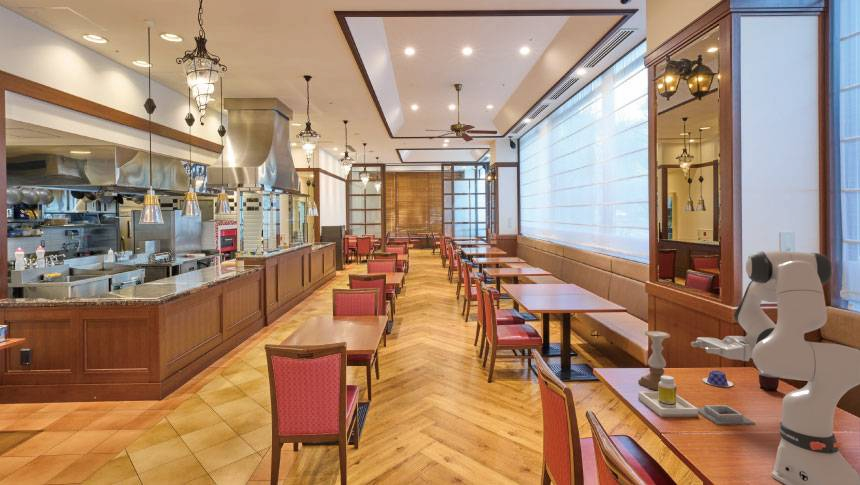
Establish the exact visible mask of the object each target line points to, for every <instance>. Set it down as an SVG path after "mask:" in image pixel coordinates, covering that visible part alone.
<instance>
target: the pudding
mask: <svg viewBox="0 0 860 485" xmlns="http://www.w3.org/2000/svg"><path fill="white" fill-rule="evenodd" d="M701 381H703V383H705V384H708V385H712V386H716V387H725V388H729V387H732V386H734V383H733V382H732V381H730V380H727V375H726V373H725V372H723V371H721V370H711V371H709V375H708V377H705V378H704V377H703V378H702V380H701Z"/></svg>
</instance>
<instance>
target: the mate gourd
mask: <svg viewBox="0 0 860 485" xmlns="http://www.w3.org/2000/svg"><path fill="white" fill-rule="evenodd" d="M758 383H759V385H760V386H759V389H762V390H765V392H766V393H767V392H770V391H771V392H775V393H777V392H778V389H779V388H778V387H779V383H780V378H779V377H775V376H772V375H768V374H765V373H762V372H761V371H759V374H758Z"/></svg>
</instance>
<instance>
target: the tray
mask: <svg viewBox="0 0 860 485" xmlns="http://www.w3.org/2000/svg"><path fill="white" fill-rule="evenodd" d="M638 400H639V401H641V402H642V403H644V405H646V406H647V407H648V408H649V409H651V410H652V411H653V412H654V413H655V414H657V415H660V416H659V417H661V418H678V417H679V418H683V417H684V418H692V417H693V418H694V417H695V418H697V417H698V418H699V412H698V408H699V407H696V406H694V405H693V404H692V403H690V402H689V401H687V400H686V399H684V398H683V397H682V396H680V395H679V394H677V393H676V406H675V407H665V406H662V405H660V404H659V403H658V391H656V390H653V391H652V390H651V391H638Z"/></svg>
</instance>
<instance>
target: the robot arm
mask: <svg viewBox="0 0 860 485" xmlns="http://www.w3.org/2000/svg"><path fill="white" fill-rule="evenodd" d="M745 272H746V274H747V277H748V278H749V279H750V280H751V281H750V282H749V283H748V285H747V287H746V289H745V291H744V294H743V296H742V300H741V302H740V304H739V305H738V307H737V308H736V310H735V311H734V314H733V319H734V321H736V322H737V324H738V325H739V326H741V327H742V329H743V330H744V331H745V332H746V335H745V336H742V335H727V336H725V337H724V338H723V339H722V340H721V339H719V338H715V337H708V336H707V337H705V336H704V337H703V336H700V337H696V341H691V342H690V346H691V347H693V348H698V347H699V348H701V349H704V350H705V353H707V354H714V355H718V356H721V357H722V358H723V357H724V358H726V359H729V360H735V361H736V360H738V361H743V362H749V361H750V359H752V360H753V364H754V366H755V367H756V368H757V369H758V370H759V372H762V373H765V374H768V375H772V376H775V377H779V379H787V380H796V381H807V383H806V385H804V386H803V387H801V388H799V389H796V390H792V391H790V392H788V393H786V395H785V396H784V397H783V398H782V409H781V410H782V412H781V413H782V414H781V417H782V418H781V421H780V423H779V436H780V437H781V438H780V442H779V444H778V447H777V450H776V457H775V462H774V463H775V464H774V466H773V470H772V471H771V477H772V478H773V479H775V480H777V481H778V482H779V483H780V482H781V483H782V484H783V485H860V475H859V473H858V471H857V470H856V468H853V467H852V466H851V465H850V463H849V462H848V461H847V459H846V458H845V457H844V456H843V455H842V454H841V452H840V449H839V448H843V446H842V445H843V443H842V442H837V439H836V438H837V437H836V436H835V434H834V418H835V411H836V408H837V405H838V403H839V401H840V400H841V398H842V397H843V396H844V395H845V394H846V393H847V392H848V391H850V390H851V389H853V388H854V387H856V386H859V385H860V349H858V348H855V347H851V346H846V345H843V344H838V343H829V342H828V343H825V342H814V341H807V340H805V334H806V333H811V332H813V331H816V330H819V329H820V328H822V327H824V326H825V325H826V324H827V321H828V312H827V306H826V299H825V294H824V289H823V285H826V284H827V283H828V282H829V281H830V280H831V279H832V275H833V265H832V262H831V259H830V258H829V257H828V256H827V255H825V254H822V253H816V252H811V253H809V252H800V251H787V250H783V251H782V250H780V251H779V250H778V251H775V250H774V251H766V252H765V251H757V252H753V253H751V254H750V255H749V256H748V258H747V261H746V263H745ZM762 301H764V302H766V303H767V302H768V303H776V304H777V320H776V323H775V322H774V321H773V320H772V319H771V318H770V317H769V316H768V315H767V313H765V312H764V310H763V308H762V307H761V303H762Z"/></svg>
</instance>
